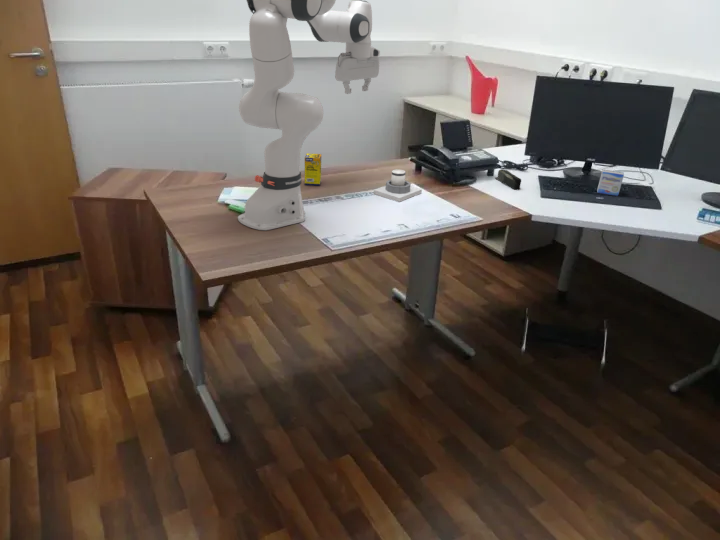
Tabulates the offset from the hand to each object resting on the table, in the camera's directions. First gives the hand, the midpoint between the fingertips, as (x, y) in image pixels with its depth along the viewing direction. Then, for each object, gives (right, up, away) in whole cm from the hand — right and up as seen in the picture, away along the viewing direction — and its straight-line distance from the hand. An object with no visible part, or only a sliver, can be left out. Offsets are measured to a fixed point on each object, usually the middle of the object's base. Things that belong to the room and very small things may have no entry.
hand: (356, 92), depth 200 cm
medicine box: (+99, -34, +18) cm, 106 cm away
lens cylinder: (+15, -34, +6) cm, 38 cm away
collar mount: (+15, -36, +7) cm, 39 cm away
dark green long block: (+60, -30, +23) cm, 71 cm away
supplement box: (-17, -31, +13) cm, 38 cm away
